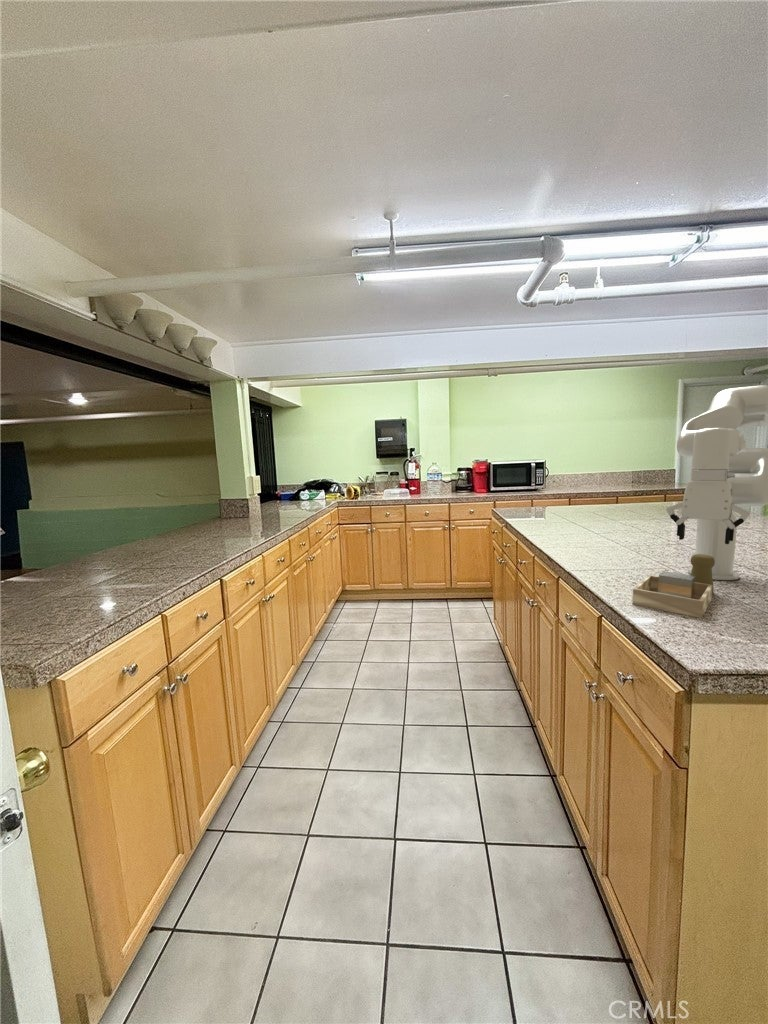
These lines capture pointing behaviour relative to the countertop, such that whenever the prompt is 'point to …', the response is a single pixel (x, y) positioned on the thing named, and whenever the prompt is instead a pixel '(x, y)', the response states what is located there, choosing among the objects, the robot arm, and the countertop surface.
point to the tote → (672, 598)
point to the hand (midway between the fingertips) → (703, 541)
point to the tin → (676, 584)
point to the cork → (702, 569)
